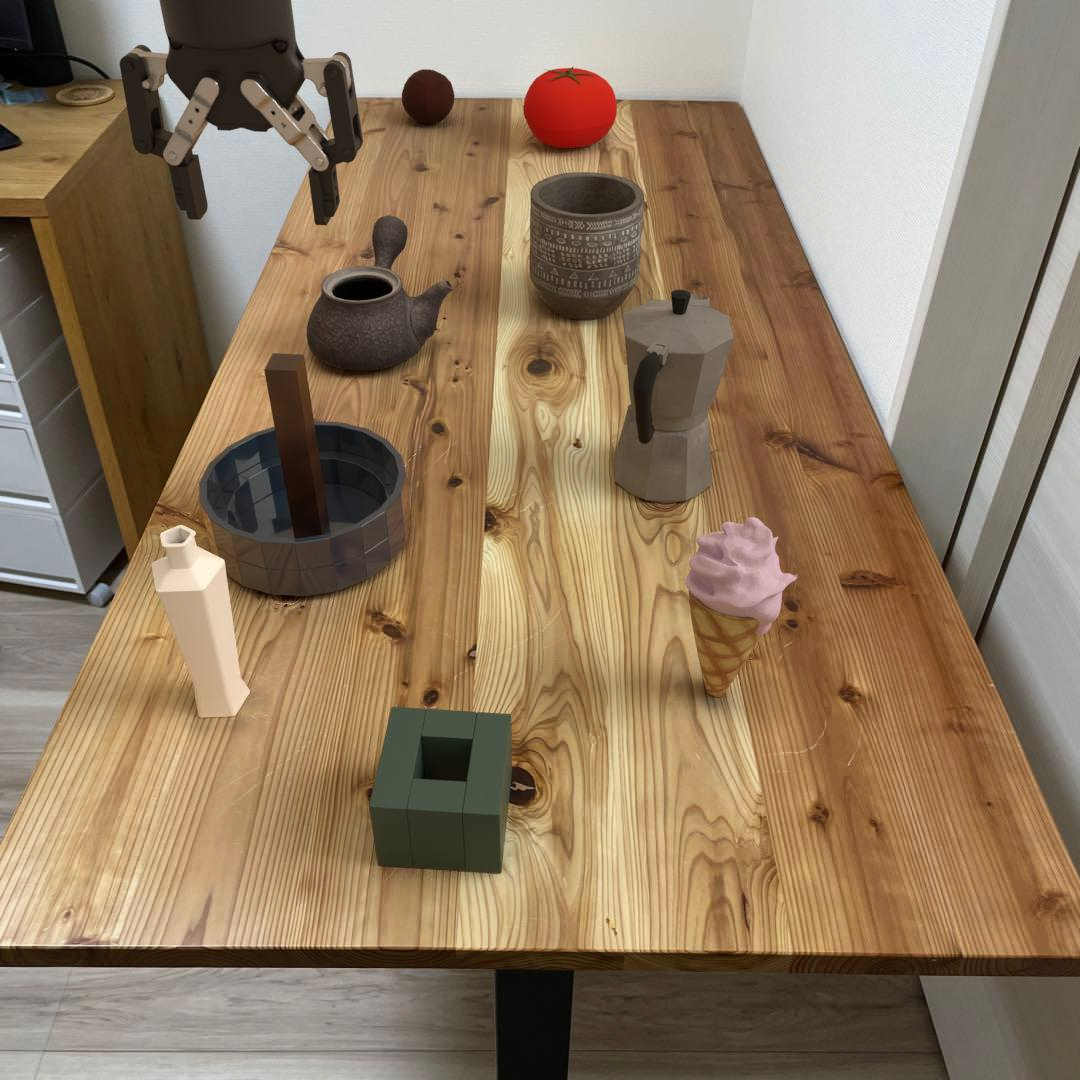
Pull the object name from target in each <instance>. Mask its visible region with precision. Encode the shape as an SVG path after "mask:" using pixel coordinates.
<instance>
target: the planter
mask: <svg viewBox="0 0 1080 1080" xmlns="http://www.w3.org/2000/svg"><path fill="white" fill-rule="evenodd" d="M529 195H530V197H529V198H530V199H529V200H530V208H529V258H528V259H529V262H528V263H529V277H530V280H531V282H532V284H533V286H534V288H535V290H536V292H537V293H538V294H539V296H540V298H541V299H542V300H543V302H544V303H545V305H546V306H547V307H548V309H549V310H550V311H552V312H553V313H554V314H556V315H558V316H560V317H563V318H566V319H569V320H570V319H571V320H577V321H591V320H598V319H602V318H606V317H609V316H610V315H613V314H614V313H616V311H617V310H618V309H619V308H620V306H622V304H623V303H624V302H625V301H626V299H627V297H629V295H630V294H631V292H632V291H633V289H634V288H635V286H636V285H637V283H638V281H639V275H640V266H641V246H642V235H643V234H642V233H643V224H644V223H643V222H644V206H645V205H644V204H645V193H644V190H643V189H642V188H641V186H639V184H638V183H636V182H634V181H633V180H630V179H628V178H625V177H623V176H620V175H616V174H610V173H605V172H604V173H601V172H592V171H577V172H576V171H574V172H572V171H571V172H562V173H557V174H554V175H551V176H548V177H546V178H544V179H541V180H539V181H538V182H536V183H535V184H534V185H532V187H531V189H530V193H529Z"/></svg>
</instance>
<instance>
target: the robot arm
mask: <svg viewBox="0 0 1080 1080" xmlns="http://www.w3.org/2000/svg"><path fill="white" fill-rule="evenodd" d="M159 5H160V10H161V15H162V20H163V25H164V30H165V34H166V37H167V41H168V52H167V53H163V52H153V51H152V50H151V49H150V48H149V47H148V46H147V45H145V44H138V45H136V46H135V47H134V48H132V49H131V50H130V51H128V53H127V54H125V55H124V56H123V57H121V58H120V60H119V70H120V76H121V81H122V88H123V92H124V98H125V99H124V100H125V104H126V109H127V110H126V111H127V116H128V121H129V125H130V126H129V128H130V133H131V139H132V144H133V145H132V146H133V147H134V149H135V151H137V152H138V153H139V154H141V155H149V154H151V155H154V156H157V157H159V158H161V159H162V160H164V161H165V162H166V164H167V166H168V169H169V174H170V178H171V179H170V180H171V183H172V187H173V192H174V198H175V202H176V205H177V206H178V208H179V210H180V211H185V212H186V216H187V218H188V220H196V221H197V220H198V221H201V220H202V219H203V218H204V216H205V215H206V213H207V211H208V198H207V193H206V189H205V184H204V178H203V173H202V168H201V163H200V157H199V154H194V153H193V150H194V148H195V146H196V145H197V142H198V140H199V139H200V137H201V136H202V134H203V132H204V130H205V129H206V127H207V126H208V124H210V125H212V126H214V127H216V128H217V131H229V132H230V131H234V130H239V129H244V130H248V131H251V132H256V133H267V132H268V131H269V129H272V128H274V130H275V131H276V132H277V133H278V134H279V135H280V137H281V138H282V139H283V140H284V141H285V142H286V143H287V144H288V145H289V146H292V147H294V148H295V149H296V150H297V151H298V152H299V153H300V155H301V156H302V158H304V159H305V161H306V162H307V163H308V164H309V165H310V166H311V167H310V169H308V172H307V174H308V180H309V182H308V183H309V189H310V196H311V198H310V199H311V204H312V213H313V220H314V224H315V226H327V225H328V224H329V222H330V220H331V219H332V218H333V217H334V216H335V215H336V213H337V211H338V209H339V206H340V202H341V199H340V190H339V182H338V181H339V179H338V172H337V165H339V164H341V163H347V164H348V163H352V162H353V161H354V160H355V159H356V157H357V155H358V152H359V150H360V149H361V148H362V146H363V144H364V137H363V130H362V124H361V118H360V112H359V111H360V109H359V104H358V98H357V91H356V85H355V78H354V71H353V64H352V60H351V58H350V56H349V55H348V54H347V53H345V52H343V51H337V52H336V53H334V54H333V55H332V56H331V57H313V58H312V57H309V58H305V56H304V55H303V53H302V51H301V50H300V48H299V46H298V42H297V39H296V38H297V37H296V28H295V27H296V26H295V21H294V11H293V5H292V0H159ZM165 75H167V76H168V77H169V79H170V80H171V82H172V83H173V84H174V85H175V86H176V88H178V90H179V91H180V92H181V93H182V94H183V96H184V97H185V98H186V99H187V101H188V103H187V105H186V107H185V109H184V111H183V113H182V115H181V116H180V118H179V120H178V121H177V123H176V125H175V128H174V132H171V131H169V130H167V129H165V124H164V118H163V112H162V104H161V99H160V98H161V97H160V92H159V88H161V86H163V84H164V83H165ZM306 80H309V81H311V82H312V83H313V84H314V86H315V89H316V91H317V93H318V95H320V96H321V97H323V98H327V105H328V110H329V116H330V123H331V128H332V134H333V138H331V137H330V136H329V135H328V133H327V132H326V131H325V130H324V129H323V127H322V126H321V125H320V124H319V123H318V120H317V118H316V115H315V114H314V111H312V109H311V108H310V107H309V106H308V104H307V103H306V102H305V101H304V100H303V99H302V97H300V95H299V94H298V93H299V91H300V90H301V88H302V86H303V84H304V82H305V81H306Z"/></svg>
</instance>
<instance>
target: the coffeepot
mask: <svg viewBox="0 0 1080 1080" xmlns="http://www.w3.org/2000/svg"><path fill="white" fill-rule="evenodd" d="M670 298H671V299H650V300H648V301H647V302H644V303H643V304H640V305H638V306H636V307H634V308H631V309H630V310H628V311H626V312H623V313H622V319H623V320H622V321H623V333H624V334H623V335H624V343H625V344H624V345H625V355H626V368H627V369H626V370H627V381H628V393H629V401H630V404H629V405H628V406H627V409H626V413H625V418H624V421H623V425H622V428H621V431H620V435H619V438H618V443H617V446H616V450H615V453H614V457H613V461H614V465H613V466H614V467H613V468H614V483H616V484H617V485H618V486H620V487H621V488H622V489H623V490H624V491H626V492H627V493H628V494H630V495H632V496H633V497H635V498H638V499H640V500H641V499H642V500H644V501H647V502H653V503H661V504H674V503H675V504H676V503H681V502H687V501H689V500H693V499H694V498H696V497H698V496H699V495H701V494H702V493H704V492H705V490H706V489H707V488H708V487H710V486H712V485H713V478H712V458H711V439H710V422H709V406H711V405H712V404H713V403H714V402H715V399H716V396H717V393H718V389H719V387H720V383H721V380H722V377H723V375H724V370H725V367H726V365H727V361H728V357H729V355H730V351H731V348H732V345H733V342H734V337H735V336H734V332H733V329H732V324H731V319H730V316H729V315H728V314H726V313H724V312H721V311H719V310H717V309H715V308H713V307H711V303H710V301H711V300H710V297H708V296H702V297H700V296H699V295H698V294H695V293H691V292H690V291H688V290H686V289H674V290H672V291H670Z"/></svg>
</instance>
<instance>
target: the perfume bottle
mask: <svg viewBox="0 0 1080 1080" xmlns="http://www.w3.org/2000/svg"><path fill="white" fill-rule="evenodd" d="M196 534H197V532H196V531H195V530H194V529H191V528H189V527H187V526H186V525H183V524H179V525H176V526H173V527H171V528H169V529H165V530H164V531H161V533H159V536H160V537H159V538H160V542H161V546H162V547H163V548H164V549H165V554H166V555H165V556H163V557H161V558H159V559H157V560H154V561H152V562H151V571H152V578H153V582H154V588H155V589H154V590H155V591H156V594H157V597H158V599H159V601H160V604H161V607H162V609H163V611H164V615H165V616H166V619H167V621H168V624H169V627H170V629H171V631H172V634H173V637H174V639H175V642H176V644H177V646H178V650H179V652H180V655H181V657H182V659H183V662H184V664H185V667H186V670H187V672H188V675H189V677H190V679H191V682H192V685H193V687H194V700H195V704H196V709H197V710H196V711H197V714H198V717H199V718H202V719H204V718H231V717H235V716H236V715H237V714H238V713H239V711H240V710H241V708H242V706H243V704H244V703H245V701H246V699H247V698H248V697H249V695H250V693H251V690H250V688H249V687H248V685H247V684H246V683H245V681H244V680H243V678H242V677H241V669H240V662H239V655H238V649H237V648H238V647H237V642H236V633H235V627H234V618H233V612H232V606H231V604H232V603H231V597H230V591H229V584H228V583H229V582H228V575H227V574H226V568H225V561H224V560H223V559H222V558H220V557H218V556H216V555H214V554H212V552H210V551H207V550H205V548H202V547H200V546H198V545H197V542H196V539H195V536H196Z"/></svg>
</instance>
